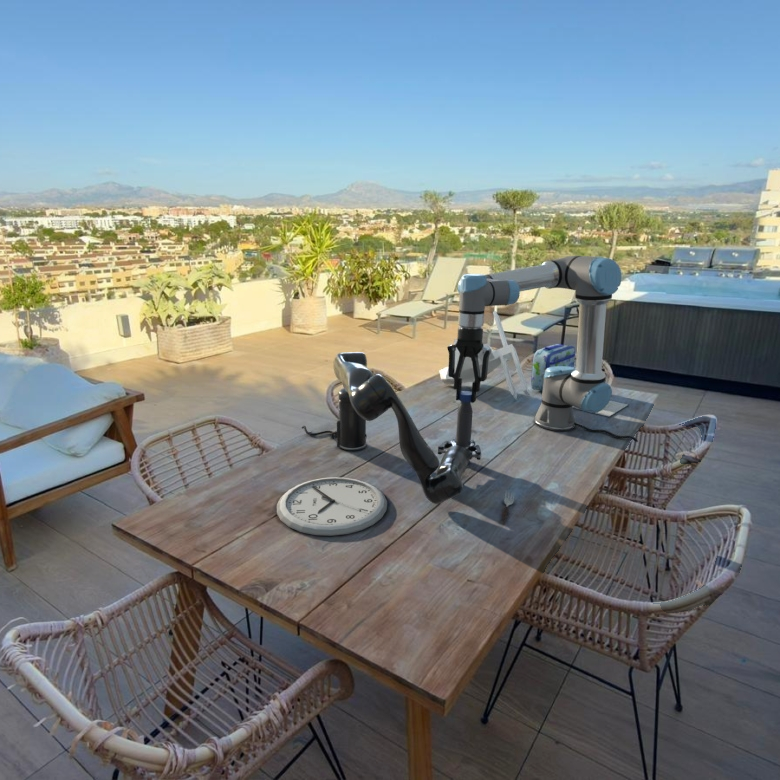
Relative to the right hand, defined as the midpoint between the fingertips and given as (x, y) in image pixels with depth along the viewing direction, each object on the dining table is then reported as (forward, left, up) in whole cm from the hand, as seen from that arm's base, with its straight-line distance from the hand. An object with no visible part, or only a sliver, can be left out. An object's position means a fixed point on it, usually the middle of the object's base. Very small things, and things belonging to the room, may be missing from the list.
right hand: (465, 400), depth 164 cm
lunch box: (-43, -90, -21) cm, 102 cm away
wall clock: (+36, +33, -21) cm, 53 cm away
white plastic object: (-9, -77, -21) cm, 81 cm away
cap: (0, 0, +2) cm, 2 cm away
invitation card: (-61, -65, -21) cm, 92 cm away
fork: (-11, +29, -21) cm, 38 cm away
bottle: (0, 0, -21) cm, 21 cm away
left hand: (0, -3, -15) cm, 15 cm away
